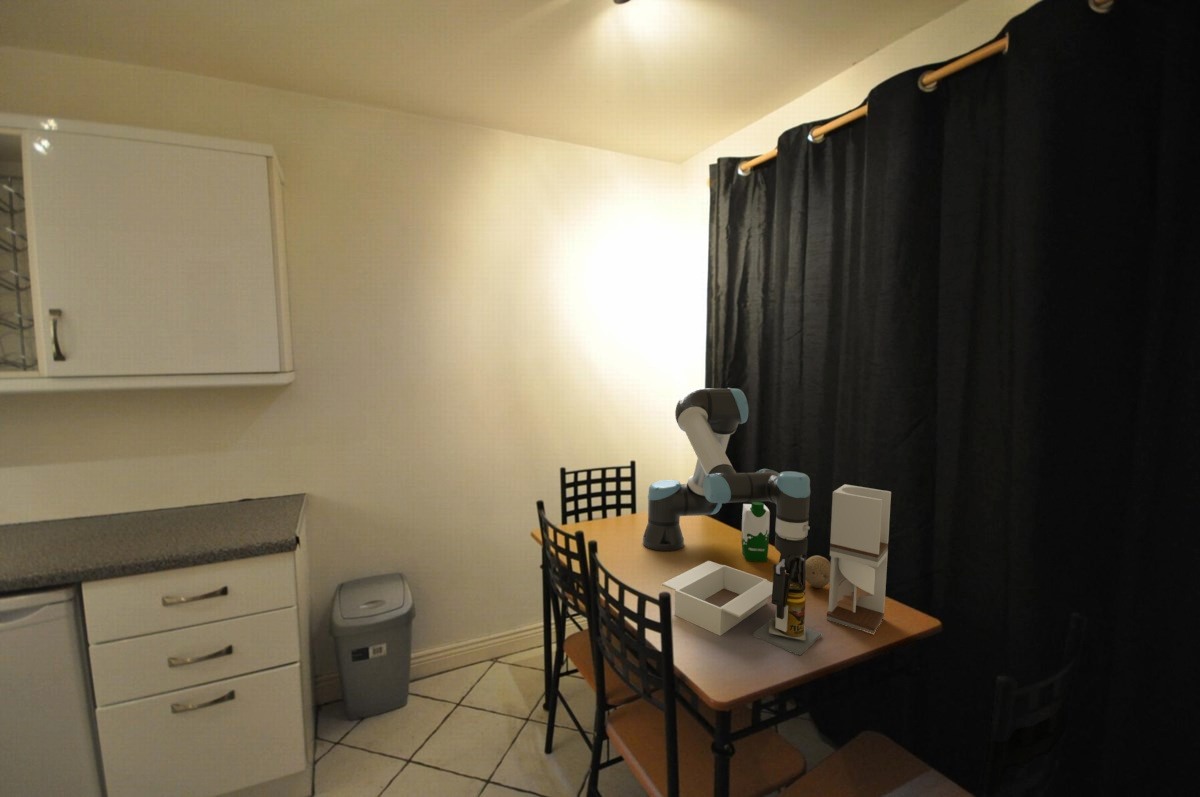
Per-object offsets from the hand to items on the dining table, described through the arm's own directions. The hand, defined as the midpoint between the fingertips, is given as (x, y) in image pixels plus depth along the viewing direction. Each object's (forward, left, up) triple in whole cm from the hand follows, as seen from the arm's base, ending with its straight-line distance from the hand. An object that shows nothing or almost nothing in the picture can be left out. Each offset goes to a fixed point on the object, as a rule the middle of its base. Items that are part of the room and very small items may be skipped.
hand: (787, 624), depth 129 cm
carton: (-19, 0, -3) cm, 19 cm away
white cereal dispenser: (+9, +21, -3) cm, 23 cm away
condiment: (0, 0, -2) cm, 2 cm away
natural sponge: (-6, +32, -3) cm, 33 cm away
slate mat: (0, 0, -3) cm, 3 cm away
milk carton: (-31, +40, -3) cm, 51 cm away
